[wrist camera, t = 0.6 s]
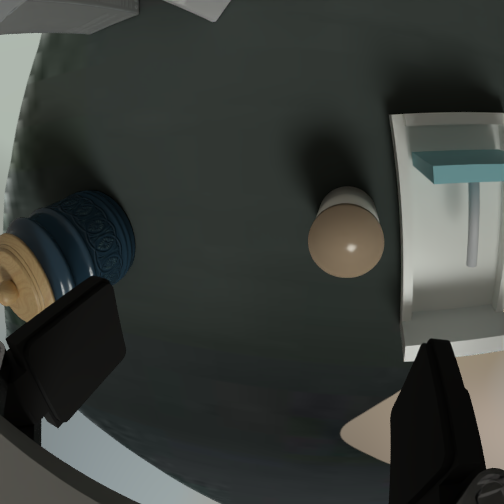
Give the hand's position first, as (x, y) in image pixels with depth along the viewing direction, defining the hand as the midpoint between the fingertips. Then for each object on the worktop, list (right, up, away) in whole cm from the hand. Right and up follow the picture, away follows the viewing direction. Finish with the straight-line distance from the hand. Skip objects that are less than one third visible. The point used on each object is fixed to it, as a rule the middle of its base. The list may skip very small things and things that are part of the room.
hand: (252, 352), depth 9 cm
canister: (-20, +5, +31) cm, 38 cm away
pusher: (+19, +8, +16) cm, 26 cm away
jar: (+9, +6, +21) cm, 24 cm away
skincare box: (-16, +31, +18) cm, 40 cm away
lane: (+20, +5, +18) cm, 27 cm away
